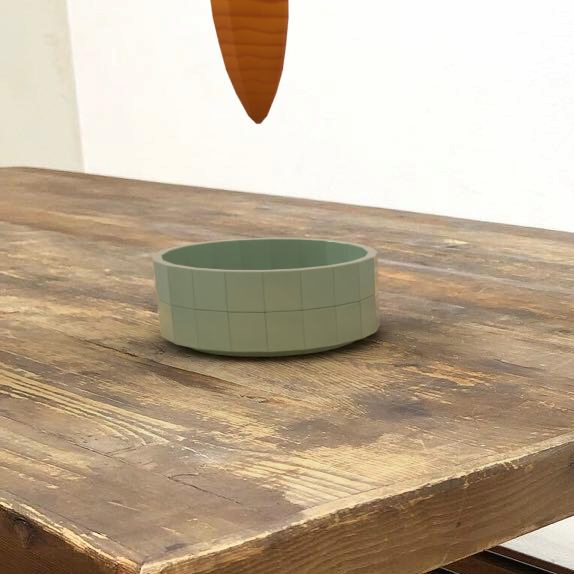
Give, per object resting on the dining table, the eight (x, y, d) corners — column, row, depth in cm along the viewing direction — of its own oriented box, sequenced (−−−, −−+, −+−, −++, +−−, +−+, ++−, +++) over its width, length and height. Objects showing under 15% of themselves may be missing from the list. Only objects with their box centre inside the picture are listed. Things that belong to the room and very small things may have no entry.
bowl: (134, 361, 76) (123, 270, 74) (191, 314, 89) (184, 236, 87) (366, 362, 76) (362, 272, 74) (389, 316, 89) (386, 238, 87)
